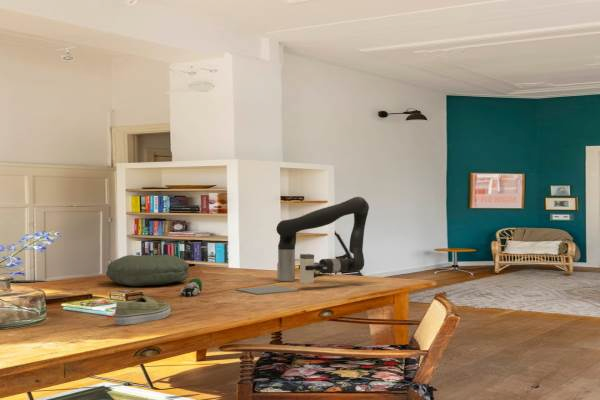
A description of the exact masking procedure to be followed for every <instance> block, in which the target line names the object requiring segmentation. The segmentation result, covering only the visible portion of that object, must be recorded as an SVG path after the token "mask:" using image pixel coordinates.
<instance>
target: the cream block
mask: <svg viewBox="0 0 600 400" xmlns="http://www.w3.org/2000/svg"><path fill="white" fill-rule="evenodd" d="M314 263H315V255H314V254H311V253H300V254H299V265H300V269H299V283H301V284H312V283H313V284H314V282H315V278H314V277H315V276H314V271H313V270H305V266H312V265H314Z"/></svg>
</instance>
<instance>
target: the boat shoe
mask: <svg viewBox="0 0 600 400" xmlns="http://www.w3.org/2000/svg"><path fill="white" fill-rule="evenodd" d="M170 315H171V306H170V304H168V303H167V302H166V301H157V300H155V299H153V297H151V296H139V297H137V298H136V299H135V300H126V301H125V300H124V301H123V300H122V301H121V300H120V301H116V306H115V313H114V324H115V325H117V326H132V325H137V324H138V325H139V324H142V323H146V322H153V321H159V320H162V319H167V318H168V317H169V316H170Z"/></svg>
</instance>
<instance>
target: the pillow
mask: <svg viewBox="0 0 600 400" xmlns="http://www.w3.org/2000/svg"><path fill="white" fill-rule="evenodd" d="M189 265H190V264H189V263H188V262H187V261H185V260H184V259H183V258H181V257H179V256H177V255H175V254H159V255H157V254H154V255H153V254H152V255H151V254H149V255H147V254H141V255H136V254H127V255H124V256H122V257H119V258H116V259H114V260H113V261H111V262H110V263H109V264H108V265H107V267H106V269H107V270H106V272H105V275H106V277H108V279H109V280H111V281H113V282H114V283H117V284H119V285H121V286H131V287H146V286H162V285H167V284H172V283H181V282H185V281H186V280H187V279H188V278H189V275H190V274H189V268H190V266H189Z"/></svg>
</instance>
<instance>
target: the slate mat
mask: <svg viewBox="0 0 600 400" xmlns="http://www.w3.org/2000/svg"><path fill="white" fill-rule="evenodd" d="M235 291H237V292H238V291H239V292H242V293H247V294H252V295H256V296H257V295H259V296H261V295H268V294H269V295H270V294H271V293H272V294H281V293H291V292H292V293H294V292H299V291H300V290H299V289H295V288H291V287H290V288H289V287H284V286H278V285H272V286H261V287H260V286H259V287H247V288H235ZM272 294H271V295H272Z"/></svg>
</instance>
